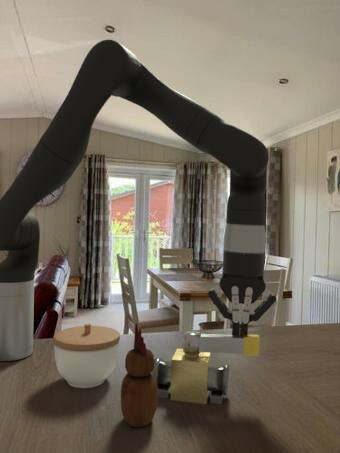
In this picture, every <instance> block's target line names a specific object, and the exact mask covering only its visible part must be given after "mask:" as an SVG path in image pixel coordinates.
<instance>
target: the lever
mask: <svg viewBox="0 0 340 453" xmlns="http://www.w3.org/2000/svg"><path fill="white" fill-rule="evenodd" d="M182 338H183V342H182V343H183V346H182V349H183V352H184V353H186V354H190V355H195V354H199V353H201V352H211V354H214V353H215V354H235V355H238V354H239V355H243V356H254V357H255V356H256V357H259V356H260V347H261V346H260V344H261V343H260V342H261V337H260V335H259V334H248V335H247V334H243V335H232V334H217V333H216V334H215V333H201V332H200V331H196V330H188V331H185V332H183V337H182Z"/></svg>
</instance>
